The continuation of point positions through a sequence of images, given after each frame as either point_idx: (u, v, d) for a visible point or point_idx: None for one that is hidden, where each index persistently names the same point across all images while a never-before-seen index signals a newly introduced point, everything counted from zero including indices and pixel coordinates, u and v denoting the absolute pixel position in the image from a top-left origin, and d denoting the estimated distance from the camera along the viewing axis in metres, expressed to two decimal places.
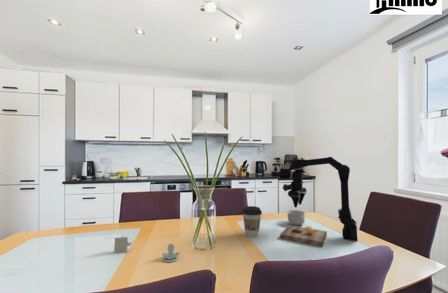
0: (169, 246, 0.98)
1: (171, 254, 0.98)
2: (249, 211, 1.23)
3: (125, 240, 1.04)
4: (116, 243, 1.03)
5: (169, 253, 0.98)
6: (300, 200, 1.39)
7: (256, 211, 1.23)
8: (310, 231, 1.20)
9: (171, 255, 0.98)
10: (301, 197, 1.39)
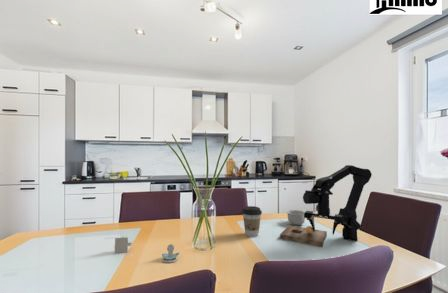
0: (169, 246, 0.98)
1: (171, 255, 0.97)
2: (249, 211, 1.23)
3: (125, 240, 1.04)
4: (116, 243, 1.03)
5: (169, 254, 0.97)
6: None
7: (256, 211, 1.23)
8: (310, 231, 1.20)
9: (171, 256, 0.97)
10: (333, 227, 1.15)
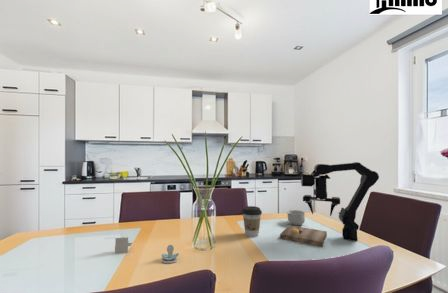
0: (168, 247, 0.97)
1: (170, 255, 0.97)
2: (249, 211, 1.23)
3: (126, 240, 1.04)
4: (117, 243, 1.03)
5: (168, 254, 0.97)
6: (330, 211, 1.22)
7: (256, 211, 1.23)
8: None
9: (170, 256, 0.97)
10: None
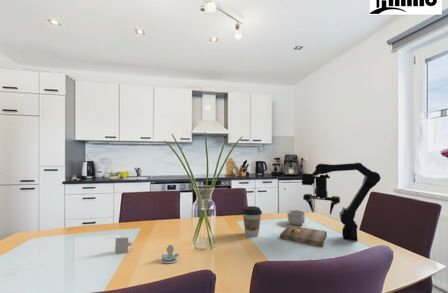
0: (168, 247, 0.97)
1: (170, 255, 0.96)
2: (249, 211, 1.23)
3: (126, 240, 1.03)
4: (117, 243, 1.03)
5: (168, 254, 0.96)
6: (330, 210, 1.25)
7: (256, 211, 1.23)
8: None
9: (170, 256, 0.96)
10: (330, 207, 1.24)
